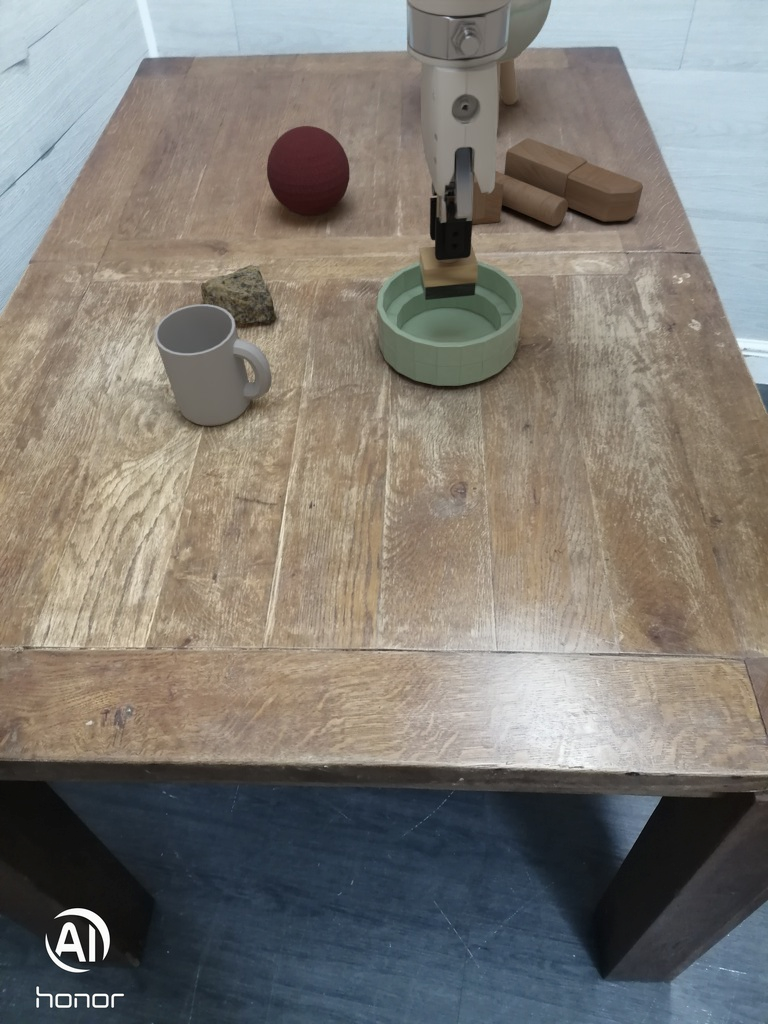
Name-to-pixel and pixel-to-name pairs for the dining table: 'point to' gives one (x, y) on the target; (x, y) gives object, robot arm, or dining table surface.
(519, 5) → the planter
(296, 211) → the decorative ball
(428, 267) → the wooden stamp
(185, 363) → the cup
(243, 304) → the rock
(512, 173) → the wooden block set
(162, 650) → the dining table surface
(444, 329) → the bowl
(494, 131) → the robot arm
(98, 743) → the dining table surface
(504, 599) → the dining table surface
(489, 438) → the dining table surface
